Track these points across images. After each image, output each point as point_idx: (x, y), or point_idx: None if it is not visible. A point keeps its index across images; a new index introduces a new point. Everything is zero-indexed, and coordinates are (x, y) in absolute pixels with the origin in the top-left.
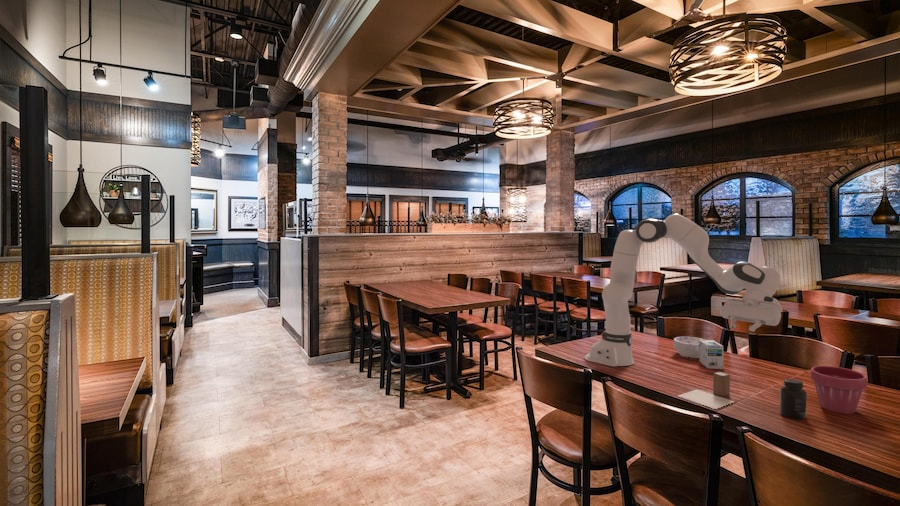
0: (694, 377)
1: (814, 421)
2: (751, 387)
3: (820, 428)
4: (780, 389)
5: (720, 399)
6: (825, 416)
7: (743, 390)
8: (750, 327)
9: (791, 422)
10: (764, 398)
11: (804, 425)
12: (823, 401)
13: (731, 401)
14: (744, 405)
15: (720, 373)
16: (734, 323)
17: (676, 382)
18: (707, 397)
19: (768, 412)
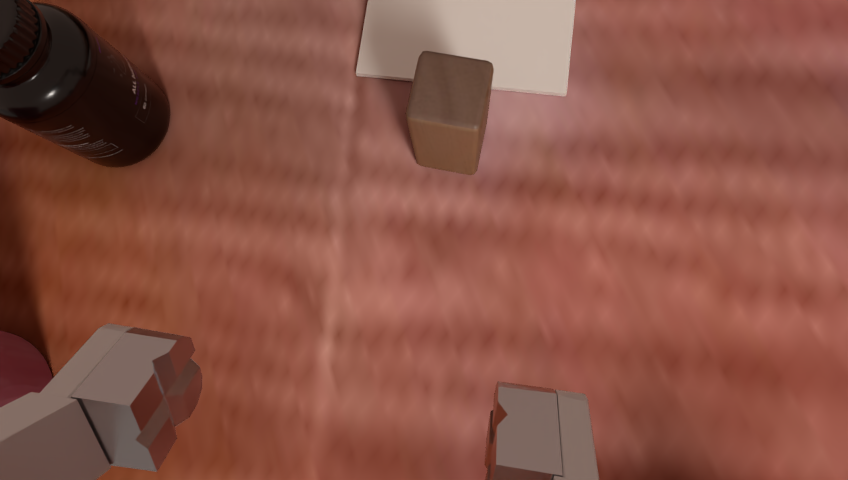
0: (700, 318)
1: None
2: (384, 404)
3: None
4: (89, 39)
5: (416, 47)
6: (20, 231)
7: (396, 307)
8: (138, 348)
9: (116, 40)
10: (276, 261)
11: None
12: (3, 336)
13: (368, 63)
14: (314, 79)
15: (456, 86)
16: (502, 442)
17: (713, 134)
18: (471, 23)
19: (211, 78)
